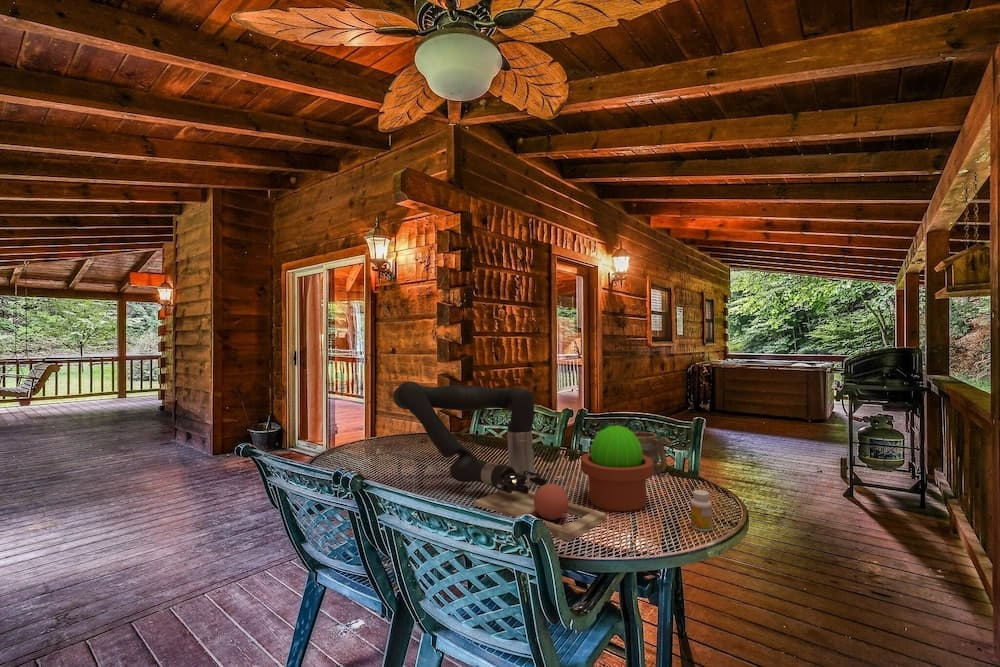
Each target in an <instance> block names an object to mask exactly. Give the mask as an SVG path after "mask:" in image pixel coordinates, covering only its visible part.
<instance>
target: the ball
mask: <svg viewBox="0 0 1000 667" xmlns="http://www.w3.org/2000/svg"><path fill="white" fill-rule="evenodd" d="M568 502H569V497H568V494H567V493H566V491H565V489H563V488H562V486H560V485H558V484H556V483H546V484H545V485H543V486H540V487H539V488H538V489H537V490H536V491H535V496H534V506H535V509H536V511H537V512H538V514H539V515H540V517H541V518H543V519H545V520H549V521H557V520H558V519H560V518H562V517H563V516H564V515H565V514H566V513H567V512H566V511H567V508H568Z"/></svg>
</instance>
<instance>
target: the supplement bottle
mask: <svg viewBox="0 0 1000 667" xmlns="http://www.w3.org/2000/svg"><path fill="white" fill-rule="evenodd" d="M692 492H693V493H692V496H693V498H691V500H690V527H691V528H693V529H694V530H696V531H700V532H709V531H712V529H713V503H712V501H711V500H710V493H709V491H706V490H703V489H694V490H693V491H692Z"/></svg>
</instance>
